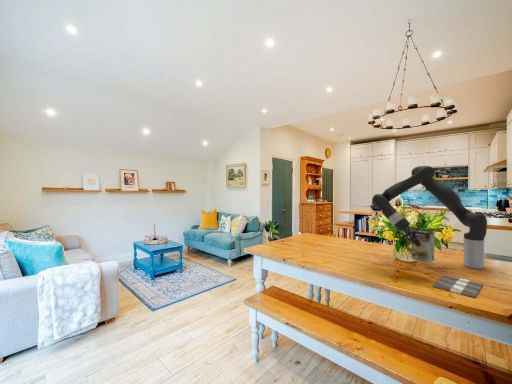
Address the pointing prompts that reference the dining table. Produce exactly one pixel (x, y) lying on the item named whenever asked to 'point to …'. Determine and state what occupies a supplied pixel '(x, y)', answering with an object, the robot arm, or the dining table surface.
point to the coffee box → (423, 246)
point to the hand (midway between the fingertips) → (421, 244)
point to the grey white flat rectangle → (458, 285)
